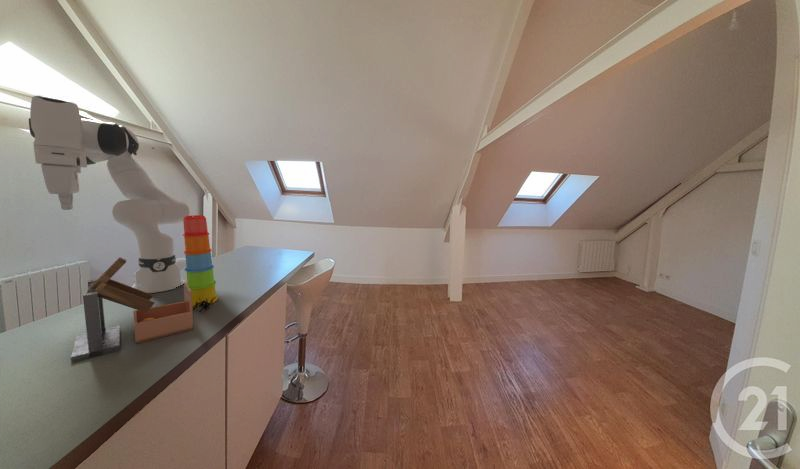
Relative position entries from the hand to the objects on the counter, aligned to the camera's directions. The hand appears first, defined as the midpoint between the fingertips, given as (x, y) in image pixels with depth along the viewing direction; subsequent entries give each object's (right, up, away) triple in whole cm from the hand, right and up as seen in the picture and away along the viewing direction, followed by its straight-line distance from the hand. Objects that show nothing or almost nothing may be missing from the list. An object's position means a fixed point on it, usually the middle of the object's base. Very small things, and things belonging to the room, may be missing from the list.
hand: (67, 209), depth 75 cm
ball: (+16, -35, +7) cm, 39 cm away
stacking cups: (+15, -34, +32) cm, 49 cm away
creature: (+19, -36, +25) cm, 48 cm away
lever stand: (+9, -38, 0) cm, 39 cm away
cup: (+19, -37, +10) cm, 43 cm away
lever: (+13, -26, +1) cm, 29 cm away
